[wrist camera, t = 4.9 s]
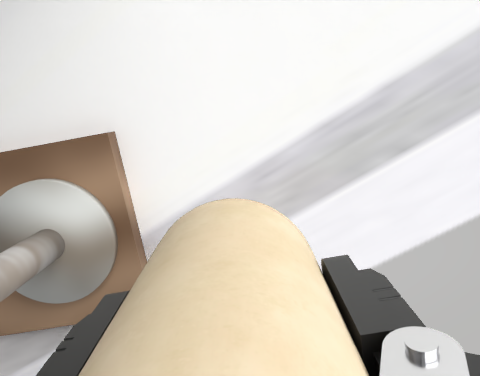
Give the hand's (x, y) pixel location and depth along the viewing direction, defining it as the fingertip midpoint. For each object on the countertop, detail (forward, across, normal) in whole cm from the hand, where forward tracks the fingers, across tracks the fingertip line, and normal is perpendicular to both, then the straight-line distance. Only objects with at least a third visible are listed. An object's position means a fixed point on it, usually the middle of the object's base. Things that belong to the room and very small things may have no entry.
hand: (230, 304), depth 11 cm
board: (+13, +17, +1) cm, 22 cm away
